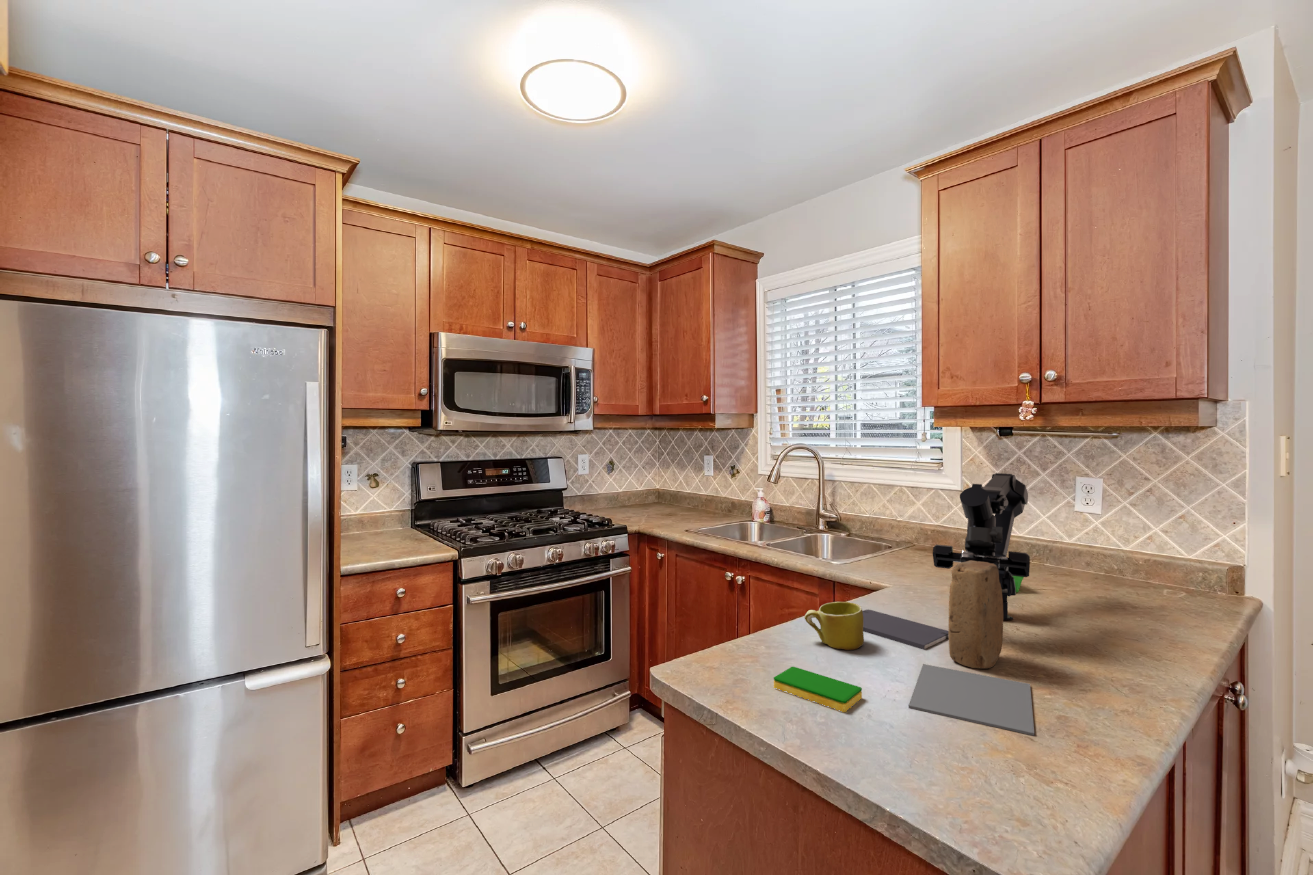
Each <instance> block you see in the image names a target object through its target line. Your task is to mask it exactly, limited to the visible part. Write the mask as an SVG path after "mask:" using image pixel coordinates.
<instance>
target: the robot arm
mask: <svg viewBox="0 0 1313 875" xmlns="http://www.w3.org/2000/svg"><path fill="white" fill-rule="evenodd" d="M959 500H960V503H961V507H962V510H963V513H964V518H966V519H967V528H966V537H965V541H964V550H962V551H961V552H954V549H953V548H954V546H953V545H945V544H935V545H934V546H933V547H932V561H933V566H934V567H936V568H940V569H947V570H948V569H951V568H953V567H954V563H961V562H966V561H970V560H972V561H977V562H978V561H980V562H988V563H992V564H995V565H996V566H997V568H998V572H999V582H1000V584H1001V588H1002V599H1003V621H1009V620H1014V617H1013V616H1011V615H1008V614H1009V613H1008V611H1009V610H1008V607H1009V602H1008V597H1012V596H1016V593H1017V592H1016V587H1015V581H1014V578H1013V576H1019V577H1024V578H1028V577H1030V567H1031V566H1030V565H1031V560H1030V559H1031V557H1030V555H1029V554H1028V553H1027V552H1021V551H1012V550H1011V551H1010V550H1009V545H1010V540H1011V536H1012V531H1013V526H1014V521H1015V519H1016V518H1017V517H1019V516H1020V515H1022V513H1023V512H1024V510H1025V506H1026V505H1028V501H1029V492H1028V489H1027V486H1026V485H1025V483H1023V482H1021V481H1019V479H1017V478H1016V475H1015V474H1012V473H1001V472H996V473H992V474H991V478H990V480H989V481H988V482H987V483H986V484H985V485H984V486H983V484H982V483H972V484H971V487H968V488H966V489H964V490H962V492H961V493H960V494H959ZM1008 550H1009V551H1008Z"/></svg>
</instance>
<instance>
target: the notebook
mask: <svg viewBox="0 0 1313 875" xmlns="http://www.w3.org/2000/svg"><path fill="white" fill-rule="evenodd" d="M862 612H863V633H868V634H871V635H874V636H877V637H881V638H884V639H887V640H891V641H893V642H896V643H900V644H904V645H907V646H909V647H913V648H917V649H919V650H923V651H925V650H926V649H928V648H930V647H932V646H934V645H936V644H938V643H941V642H942V641H945V640H949V634H948V632H949V630H946V629H942V628H939V627H935V626H932V625H928V624H923V623H921V622H917V621H913V620H909V619H906V618H902V617H899V616H894V615H891V614H887V613H884V612H880V611H876V610H872V609H864V610H862Z"/></svg>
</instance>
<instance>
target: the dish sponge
mask: <svg viewBox="0 0 1313 875" xmlns="http://www.w3.org/2000/svg"><path fill="white" fill-rule="evenodd" d="M774 688H777V689H780V690H782V691H781V692H783V691H787V692H788V693H792V694H794V695H797V696H799V697H798V698H800V697H803V698H804V699H803V698H802V699H803V700H806V699H809V700H811V701H810V702H812V701H815V702H817V703H819V704H818V705H820V704H823V705H825V706H824V707H826V706H829V707H831V708H830V709H832V708H835V709H836V710H835V709H834V710H835V711H838V710H840V711H842V712H841V713H847V712H848V711H849V710H850V709H852V707H851V706H853V705H854V704H855V703H856V702H857V701H859V700H860V699H861V700H862V699H863V692H862V690H863V688H862V687H861V686H858V685H854V684H851V683H848V682H844V681H841V680H839V679H835V678H832V677H828V676H825V675H822V674H819V673H815V672H812V671H810V670H809V671H808V670H806V669H803V668H799V667H797V666H790V667H789V668H787V669H786V670H784V671H782V672H780V673H779V674H777V675H775V676H774V677H773V689H774ZM777 689H776V690H777ZM780 690H779V691H780ZM788 693H787V694H788ZM794 695H793V696H794ZM797 696H796V697H797ZM809 700H808V701H809ZM861 700H860V701H861ZM860 701H859V702H860ZM817 703H816V704H817ZM857 703H858V702H857ZM857 703H856V704H857ZM856 704H855V705H856ZM823 705H822V706H823ZM855 705H854V706H855ZM854 706H853V707H854ZM829 707H828V708H829ZM849 708H850V709H849ZM848 709H849V710H848ZM847 710H848V711H847ZM840 711H839V712H840Z"/></svg>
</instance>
